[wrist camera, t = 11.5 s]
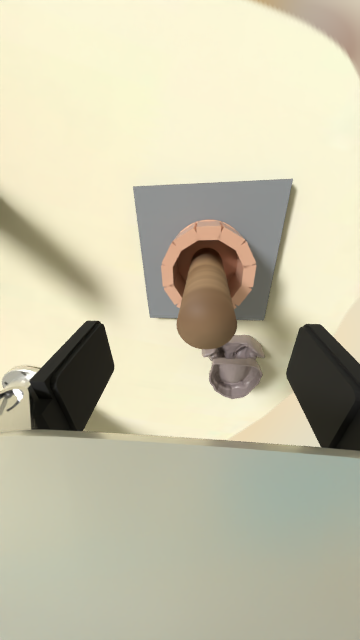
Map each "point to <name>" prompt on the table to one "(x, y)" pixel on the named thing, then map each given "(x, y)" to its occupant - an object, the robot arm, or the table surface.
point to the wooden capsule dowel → (206, 303)
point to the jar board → (211, 239)
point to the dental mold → (235, 366)
